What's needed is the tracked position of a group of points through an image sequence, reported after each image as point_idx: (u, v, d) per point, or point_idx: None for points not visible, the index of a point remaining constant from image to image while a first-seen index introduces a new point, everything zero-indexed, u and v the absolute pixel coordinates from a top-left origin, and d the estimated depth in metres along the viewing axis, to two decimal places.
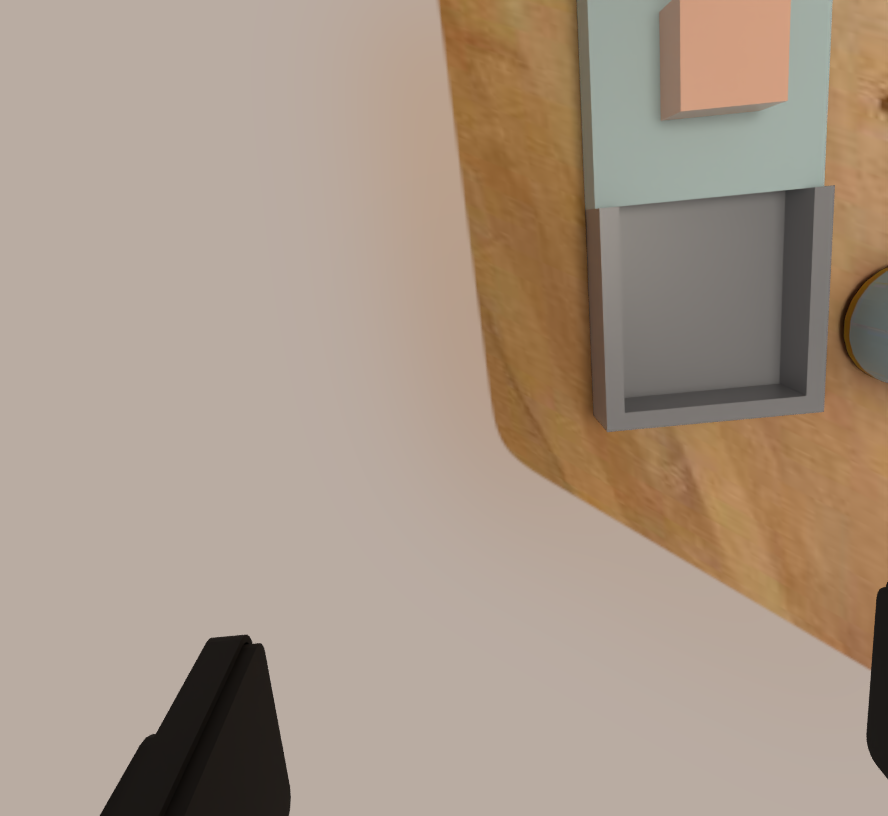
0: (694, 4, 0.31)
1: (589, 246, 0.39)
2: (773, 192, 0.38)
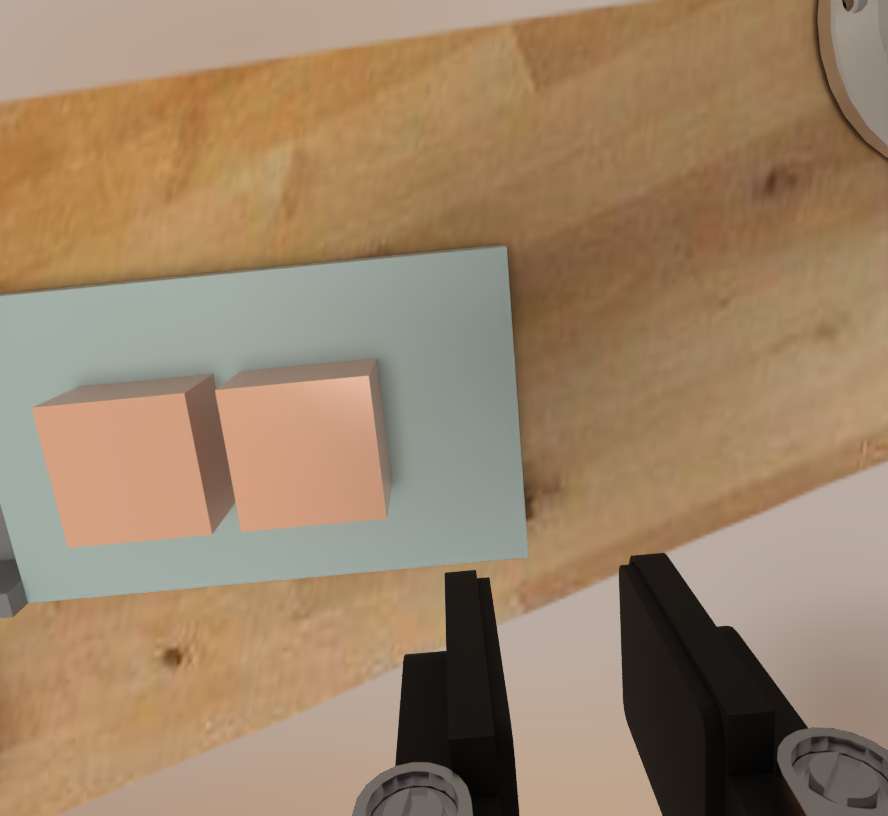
0: (171, 414, 0.22)
1: None
2: None
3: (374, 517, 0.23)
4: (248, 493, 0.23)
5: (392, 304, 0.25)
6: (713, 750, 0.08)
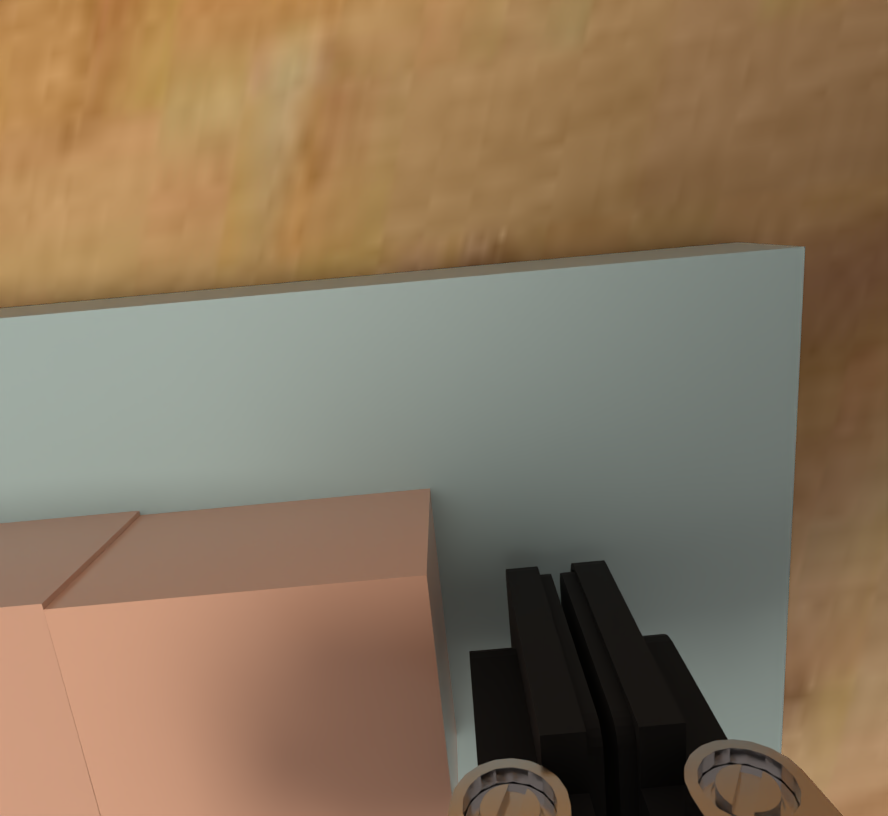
0: (12, 651, 0.09)
1: None
2: None
3: None
4: None
5: (541, 371, 0.11)
6: (627, 762, 0.08)
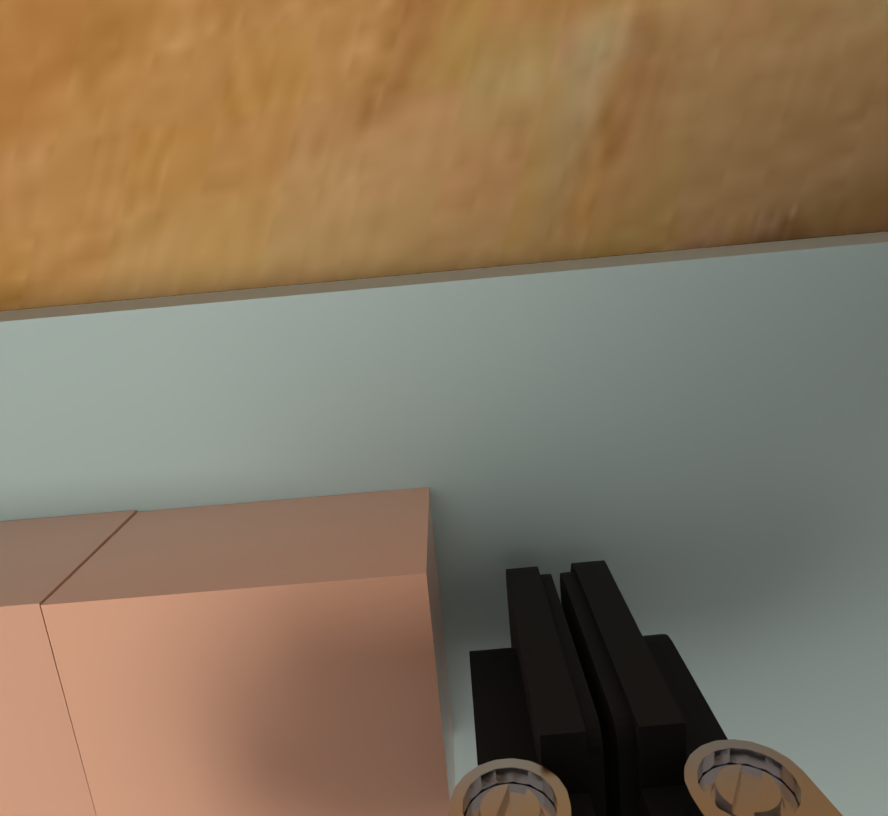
0: (9, 651, 0.09)
1: None
2: None
3: None
4: None
5: (882, 343, 0.11)
6: (627, 762, 0.08)
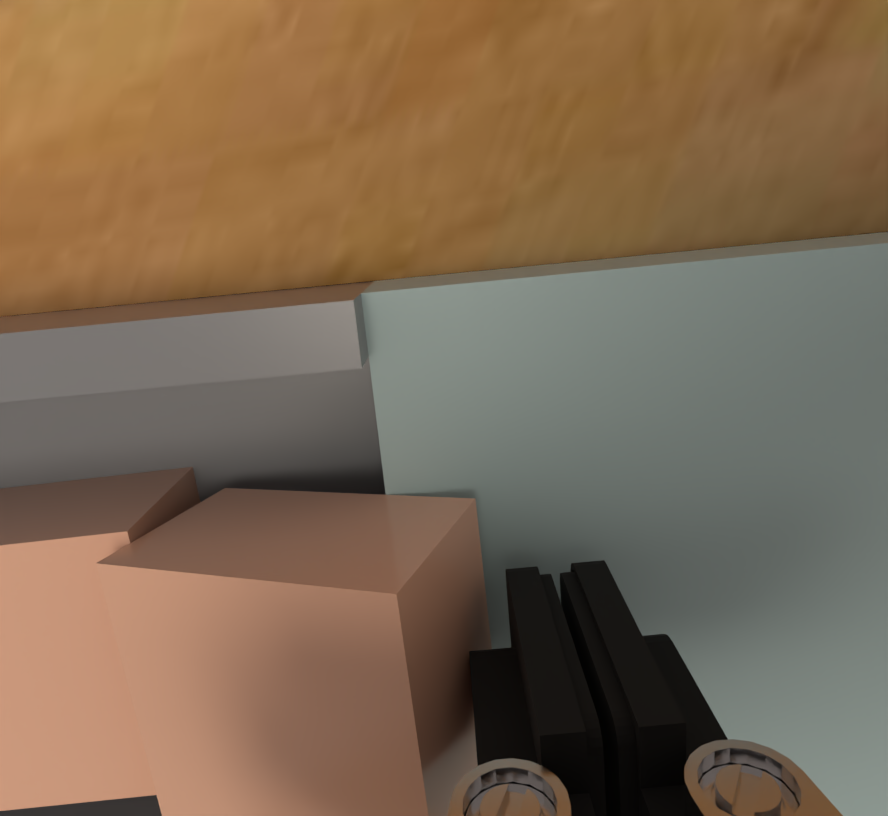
0: None
1: (262, 294, 0.13)
2: None
3: None
4: (172, 771, 0.11)
5: None
6: (627, 761, 0.08)
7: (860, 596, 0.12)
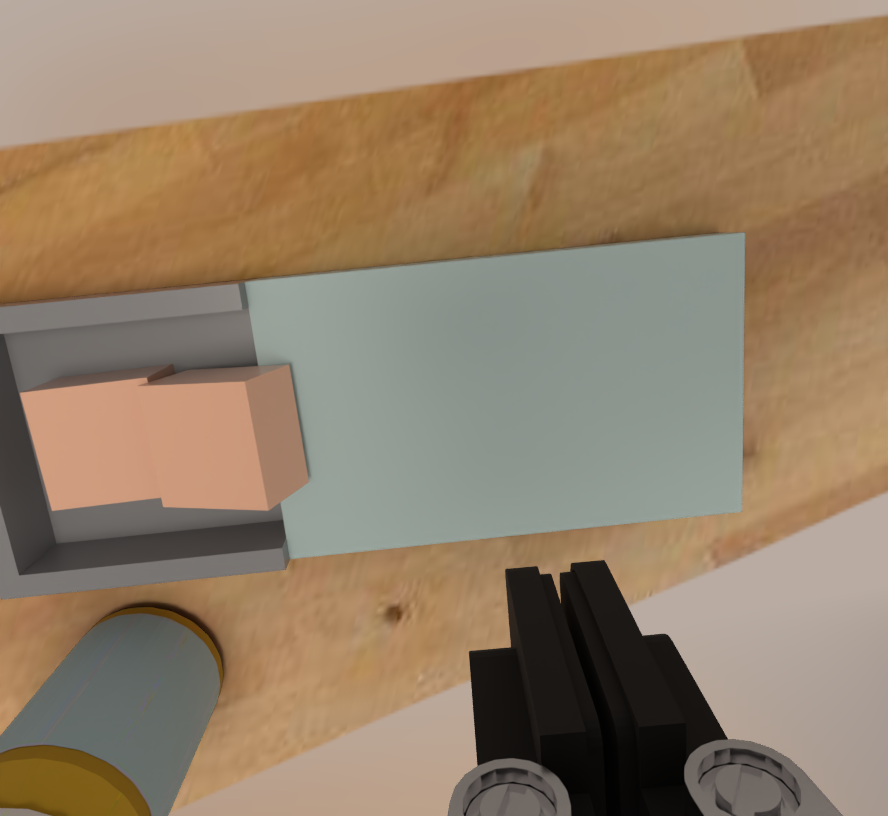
0: (136, 395, 0.27)
1: None
2: None
3: (259, 508, 0.26)
4: (165, 475, 0.27)
5: (642, 283, 0.28)
6: (626, 762, 0.08)
7: (464, 410, 0.29)
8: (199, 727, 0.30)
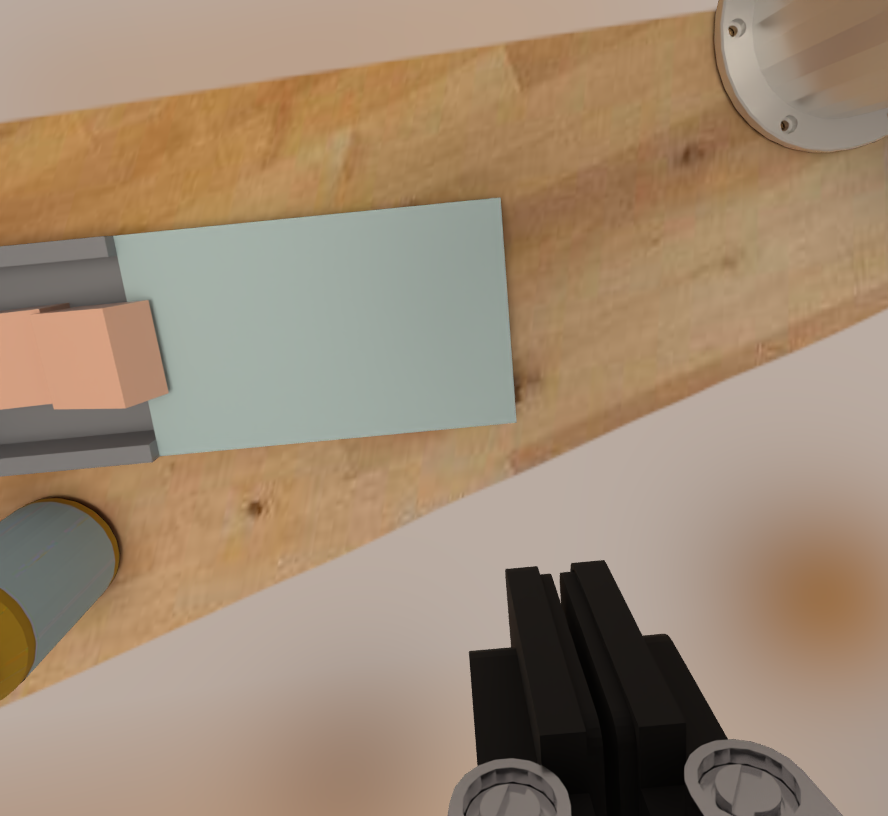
0: None
1: None
2: None
3: (119, 407, 0.35)
4: (54, 383, 0.36)
5: (421, 238, 0.36)
6: (627, 761, 0.08)
7: (289, 338, 0.37)
8: (88, 585, 0.38)
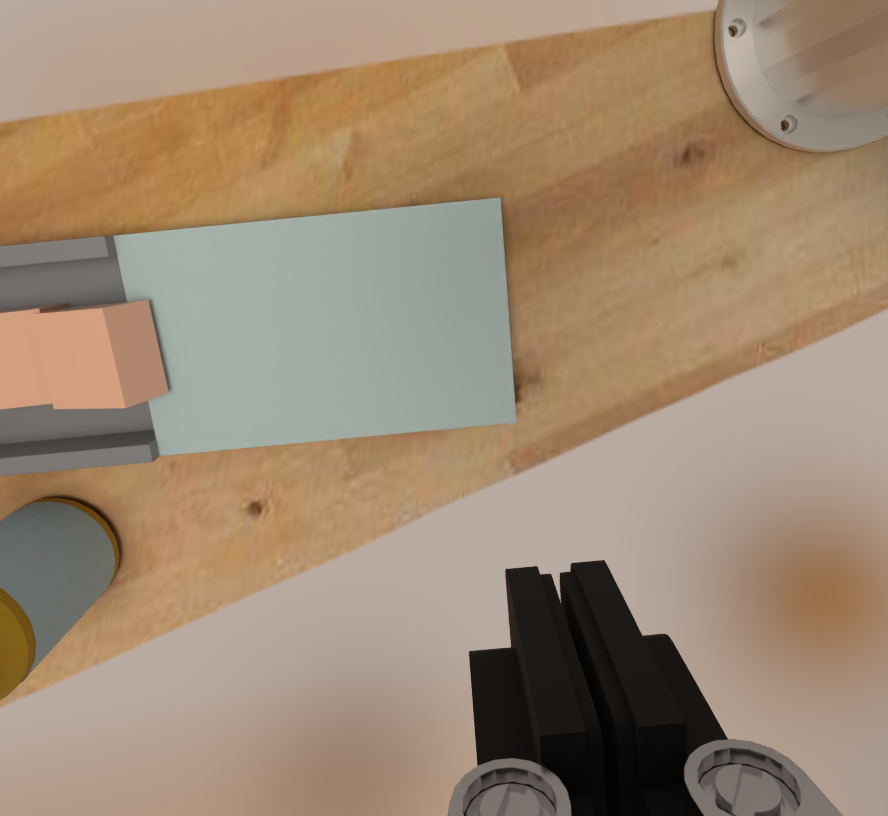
0: None
1: None
2: None
3: (119, 407, 0.35)
4: (54, 383, 0.36)
5: (421, 237, 0.36)
6: (627, 762, 0.08)
7: (289, 338, 0.37)
8: (89, 584, 0.38)
